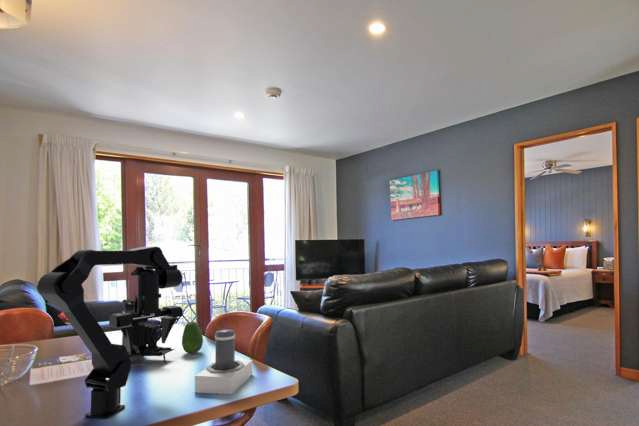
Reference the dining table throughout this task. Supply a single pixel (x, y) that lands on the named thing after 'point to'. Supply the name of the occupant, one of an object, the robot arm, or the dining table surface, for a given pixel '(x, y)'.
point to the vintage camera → (145, 340)
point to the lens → (225, 350)
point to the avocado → (192, 338)
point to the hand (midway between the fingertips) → (147, 346)
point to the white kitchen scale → (223, 378)
